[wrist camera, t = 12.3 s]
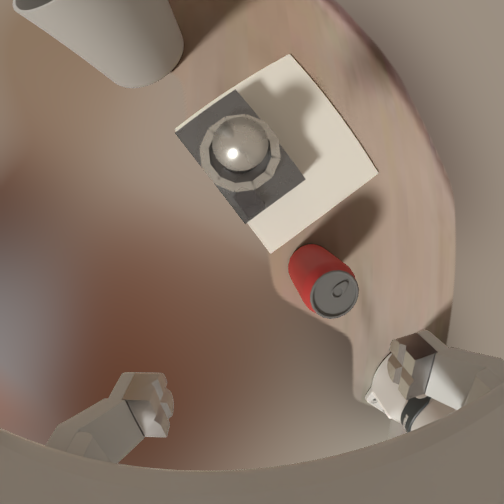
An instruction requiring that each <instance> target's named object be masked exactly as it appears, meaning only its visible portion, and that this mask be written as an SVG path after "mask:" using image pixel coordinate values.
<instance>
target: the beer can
mask: <svg viewBox="0 0 504 504" xmlns="http://www.w3.org/2000/svg"><path fill="white" fill-rule="evenodd" d="M288 269H289V275H290V277H291V279H292V281H293V283H294V285H295V287H296V289H297V290H298V292H299V294H300V296H301V298H302V300H303V302H304V303H305V304H306V306H307V307H308V308H309V309H310V310H311V311H313V312H315V313H317V314H318V315H320V316H322V317H323V318H329V319H332V318H338V317H341V316H343V315H345V314H346V313H348V312H349V311H350V310H351V309H352V308H353V306H354V305H355V303H356V301H357V298H358V292H359V288H358V284H357V281H356V279H355V276H354V274H353V272H352V271H351V269H350V268H349V267H348V266H347V265H346V264H344V263H343V262H342V261H340V260H339V259H338V258H337V257H335V256H334V255H333V254H331V253H330V252H329V251H327V250H326V249H324V248H323V247H321V246H319V245H315V244H309V245H305V246H302V247H300V248H299V249H298V250H296V251H295V252H294V253H293V255H292V256H291V258H290V261H289V265H288Z"/></svg>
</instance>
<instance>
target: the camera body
mask: <svg viewBox="0 0 504 504" xmlns="http://www.w3.org/2000/svg"><path fill="white" fill-rule="evenodd" d="M235 117H246V118H250V119H252V120H254V121H256V122H258V123H259V124H260V125H261V126H262V127H263V129H264V130H265V132H266V134H267V137H268V150H267V153H266V155H265V157H264V159H263V160H262V161H261V162H260V163H259V164H258V165H257V166H256V167H255V168H254V169H253V170H251V171H249V172H246V173H234V172H231V171H229V170H228V169H226V168H225V167H224V166H223V165H222V164H221V163H220V162H219V161H218V160H217V158H216V157H215V155H214V152H213V148H212V140H213V136H214V133H215V131H216V130H217V128H218V127H219V126H220V125H221V124H222V123H223V122H225V121H227V120H229V119H231V118H235ZM264 122H265V121H262V120H261V119H260V118H259V117H258V116H257V114H256V113H255V112H254V111H253V109H252V108H251V107H250V106H249V105H248V103H247V102H246V101H245V100H244V99H243V97H242V96H241V95H240V94H239V93H238V92H237V90H236V89H235V90H234V91H232V92H230V93H229V94H227V95H226V96H224V97H223V98H222V99H220V100H219V101H217V102H216V103H214V104H213V105H211V106H210V107H209V108H207V109H206V110H204V111H203V112H202V113H200V114H199V115H198V116H196V117H195V118H194V119H192V120H191V121H190V122H188V123H187V124H186V125H184V126H183V127H182V128H180V129H179V130H178V131H177V132H175V134H176V135H177V136H178V138H179V139H180V140H181V142H182V143H183V144H184V145H185V147H186V148H187V149H188V150H189V152H190V153H191V154H192V155H193V157H194V158H195V159H196V161H197V162H198V163H199V165H200V166H201V167H202V169H203V170H204V171H205V173H206V174H207V175H208V176H209V178H210V179H211V180H212V182H213V183H214V184H215V185H216V186H217V188H218V189H219V190H220V192H221V193H222V194H223V196H224V197H225V198H226V200H227V201H228V202H229V204H230V205H231V206H232V207H233V209H234V210H235V211H236V213H237V214H238V215H239V217H240V218H241V219H242V220H243V222H244V223H245V224H246V223H247V222H249V221H250V220H251V219H253V218H254V217H255V216H257V215H258V214H259V213H261V212H262V211H263V210H265V209H266V208H268V207H269V206H270V205H272V204H273V203H274V202H276V201H277V200H278V199H280V198H281V197H282V196H284V195H285V194H287V193H288V192H289V191H291V190H292V189H293V188H295V187H296V186H298V185H299V184H300V183H302V182H303V181H305V180H306V179H305V177H304V176H303V175H302V173H301V172H300V170H299V169H298V168H297V166H296V165H295V164H294V162H293V161H292V160H291V158H290V157H289V155H288V154H287V153H286V151H285V150H284V149H283V147H282V146H281V145H280V144H279V140H278V139H277V138H278V137H277V136H276V134H275V133H274V132H273V131H272V129H271V128H270V127H269V126H268V124H267V123H264Z"/></svg>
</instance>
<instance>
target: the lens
mask: <svg viewBox="0 0 504 504" xmlns="http://www.w3.org/2000/svg"><path fill="white" fill-rule="evenodd" d="M212 148H213V152H214V155H215V157H216V158H217V160H218V161H219V162H220V163H221V164H222V165H223V166H224V167H225V168H226V169H228V170H229V171H231V172H234V173H246V172H249V171H251V170H253V169H254V168H255V167H256V166H257V165H258V164H259V163H260V162H261V161H262V160H263V159H264V157H265V155H266V153H267V150H268V137H267V134H266V132H265V130H264V129H263V127H262V126H261V125H260V124H259V123H258V122H256V121H254V120H252V119H250V118H246V117H235V118H231V119H229V120H227V121H225V122H223V123H222V124H221V125H220V126H219V127H218V128H217V130H216V131H215V133H214V136H213V140H212Z"/></svg>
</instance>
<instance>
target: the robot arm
mask: <svg viewBox="0 0 504 504" xmlns="http://www.w3.org/2000/svg"><path fill="white" fill-rule="evenodd" d="M389 350H390V351H391V354H390V355H388V356H387V357H386V358H385V360H384V361H383V362H382V363H381V365H380V366H379V367H378V369H377V371H376V373H375V375H374V378H373V383H372V386H371V388H370V389H369V391H368V392H367V394H366V396H365V399H366V401H367V402H368V403H370V404H371V405H373V406H374V407H376V408H377V409H379V410H381V411H382V412H384V413H385V414H386V415H387V416H388V418H392V419H393V420H395V421H397V422H399V423H401V424H402V425H403V427H404V429H405V431H406V432H407V433H405V434H403V435H400V436H397V437H394V438H392V439H389V440H386V441H383V442H380V443H377V444H374V445H371V446H368V447H364V448H361V449H358V450H354V451H350V452H347V453H343V454H339V455H335V456H330V457H326V458H322V459H317V460H312V461H307V462H301V463H295V464H289V465H282V466H275V467H266V468H257V469H246V470H245V469H244V470H225V471H186V470H184V471H183V470H167V469H155V468H145V467H137V466H129V465H123V464H117V463H118V462H119V461H120V460H121V459H122V458H124V457H125V455H127V454H128V453H129V452H130V451H131V450H132V449H133V448H134V447H135V446H136V445H137V444H138V443H139V442H140V441H141V440H143V439H144V437H167V433H168V430H169V426H170V423H169V421H168V419H169V418H170V417H171V416H172V414H173V410H174V409H173V407H174V402H173V397H172V394H171V392H170V391H169V390H168V389H167V388H166V384H167V381H166V378H165V376H164V374H162V373H135V372H125V373H123V374H122V375H121V377H120V378H119V380H118V382H117V384H116V385H115V387H114V389H113V391H112V393H111V394H110V396H109V398H108V399H103V400H101V401H100V402H98V403H96V404H95V405H93V406H91V407H89V408H88V409H86V410H84V411H82V412H81V413H79V414H77V415H76V416H74V417H72V418H70V419H68V420H67V421H65V422H63V423H61V424H59V425H58V426H57V427H56V429H55V431H54V432H53V434H52V435H51V437H50V439H49V440H48V442H47V443H46V445H45V446H44V445H41V444H39V443H36V442H33V441H30V440H28V439H25V438H22V437H20V436H17V435H15V434H12V433H10V432H8V431H6V430H3V429H1V428H0V504H504V360H503V359H501V358H498V357H493V356H489V355H484V354H480V353H475V352H471V351H467V350H462V349H458V348H454V347H451V348H448V347H447V346H446V345H445V344H444V343H443V342H441V341H440V340H439V339H438V338H437V337H436V336H434V335H433V334H432V333H431V332H430V331H428V330H422V331H419V332H416V333H414V334H411V335H408V336H404V337H401V338H397V339H394V340H392V341H391V343H390V349H389Z"/></svg>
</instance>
